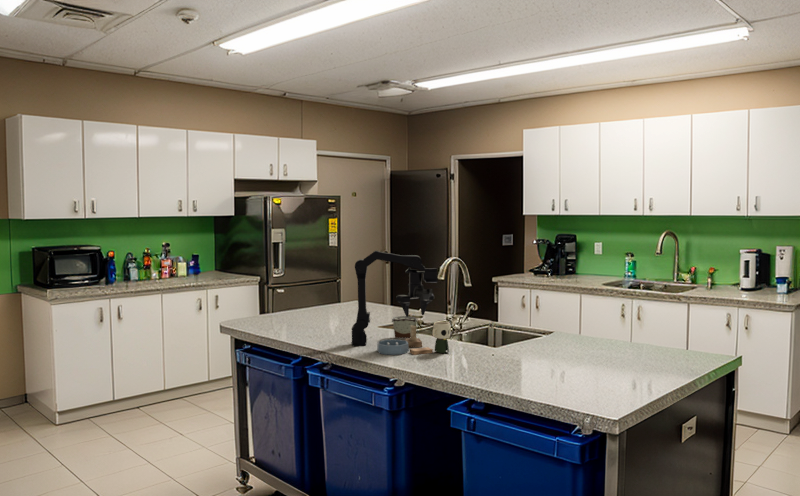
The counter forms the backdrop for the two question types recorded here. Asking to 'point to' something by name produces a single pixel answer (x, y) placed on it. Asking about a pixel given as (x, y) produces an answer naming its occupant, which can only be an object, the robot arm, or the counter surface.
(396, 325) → the food container
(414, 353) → the tapered wooden plank
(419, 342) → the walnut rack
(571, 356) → the counter surface
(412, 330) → the bar
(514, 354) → the counter surface
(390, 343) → the blue octagonal bowl
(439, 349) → the character mug
